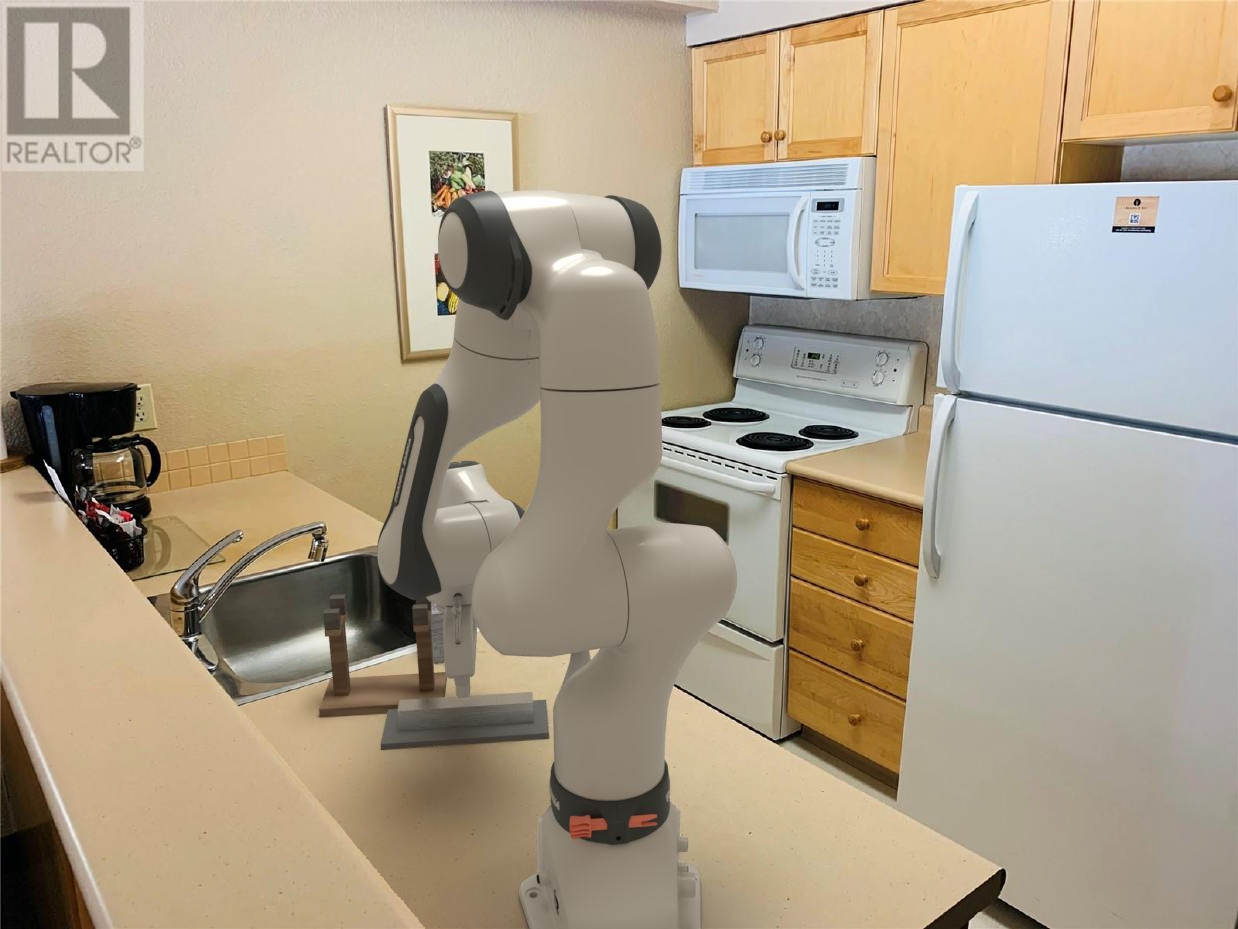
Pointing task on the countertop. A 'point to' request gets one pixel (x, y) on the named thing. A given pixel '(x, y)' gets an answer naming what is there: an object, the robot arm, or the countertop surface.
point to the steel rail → (465, 711)
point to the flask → (576, 663)
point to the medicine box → (437, 634)
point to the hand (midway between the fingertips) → (464, 679)
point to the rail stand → (377, 690)
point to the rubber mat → (465, 732)
